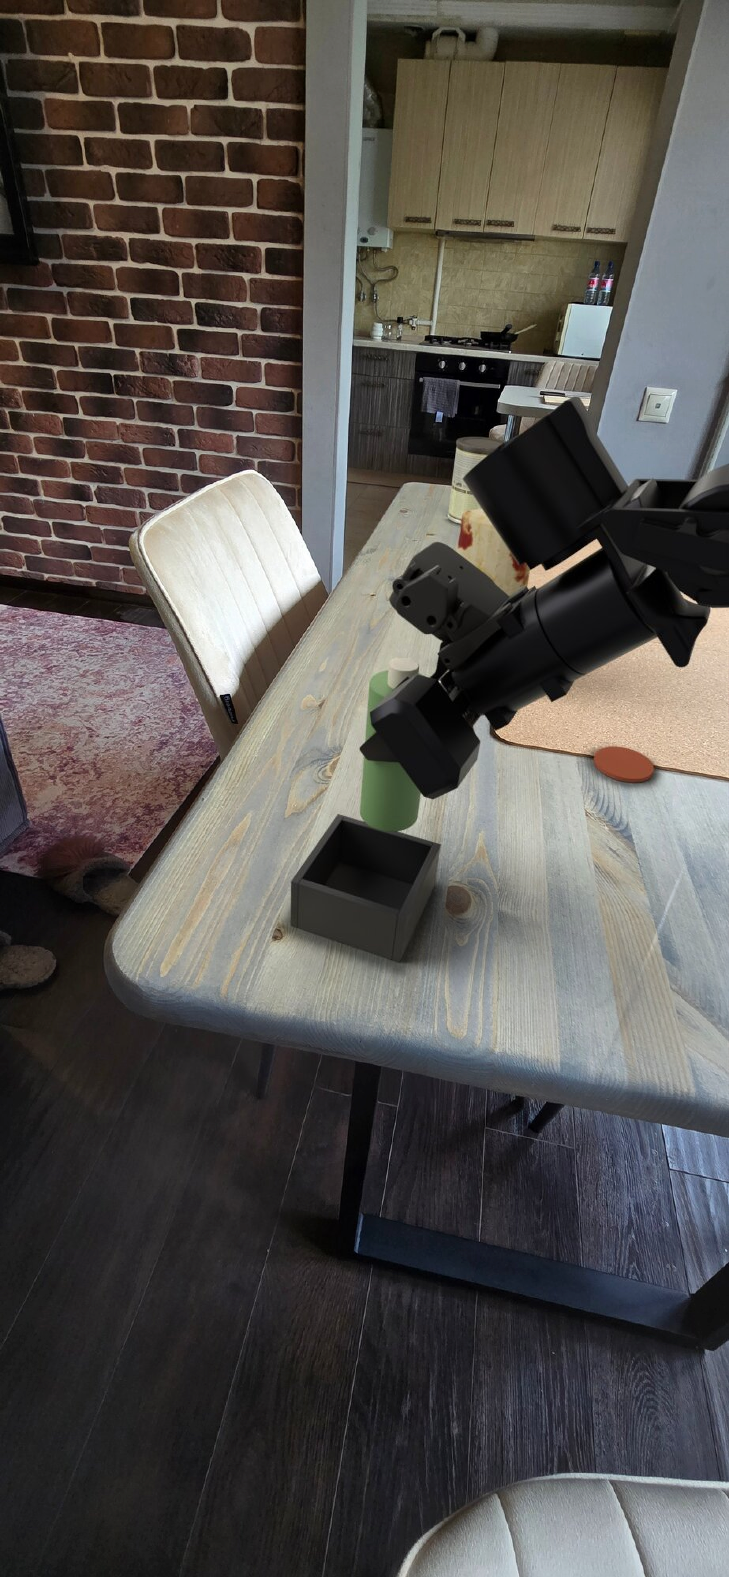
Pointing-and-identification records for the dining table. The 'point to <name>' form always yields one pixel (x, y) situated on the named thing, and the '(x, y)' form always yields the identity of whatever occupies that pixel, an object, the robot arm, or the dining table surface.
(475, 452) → the coffee can
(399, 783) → the soap bottle
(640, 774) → the mat
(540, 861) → the dining table surface
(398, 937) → the dark grey open box
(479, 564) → the food model
